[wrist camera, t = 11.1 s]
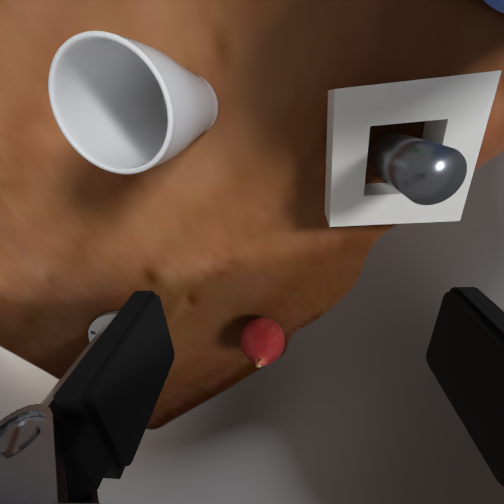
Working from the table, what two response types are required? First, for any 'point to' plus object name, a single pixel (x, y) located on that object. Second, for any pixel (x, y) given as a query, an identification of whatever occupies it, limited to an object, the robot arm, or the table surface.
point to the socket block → (395, 112)
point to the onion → (262, 341)
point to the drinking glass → (126, 102)
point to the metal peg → (417, 167)
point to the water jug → (496, 4)
